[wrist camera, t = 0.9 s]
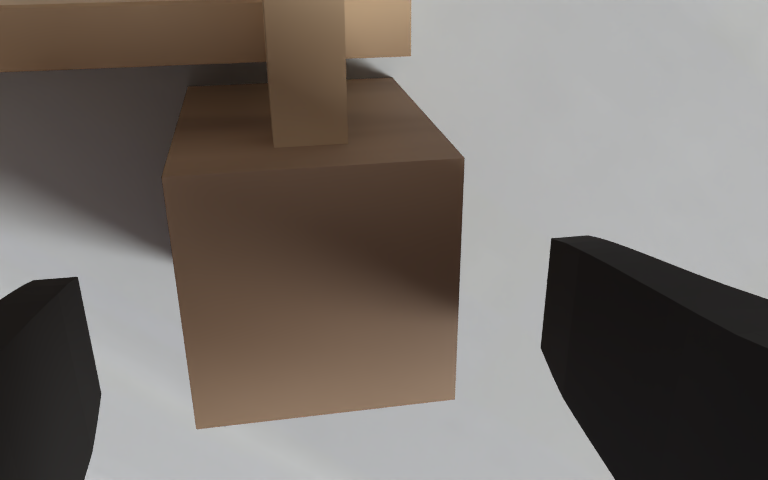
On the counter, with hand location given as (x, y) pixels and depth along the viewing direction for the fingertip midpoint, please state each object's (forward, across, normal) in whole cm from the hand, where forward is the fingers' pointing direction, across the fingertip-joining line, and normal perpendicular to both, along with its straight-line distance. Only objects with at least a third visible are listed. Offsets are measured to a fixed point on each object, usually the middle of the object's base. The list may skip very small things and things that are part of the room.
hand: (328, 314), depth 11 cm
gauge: (+7, 0, -2) cm, 7 cm away
